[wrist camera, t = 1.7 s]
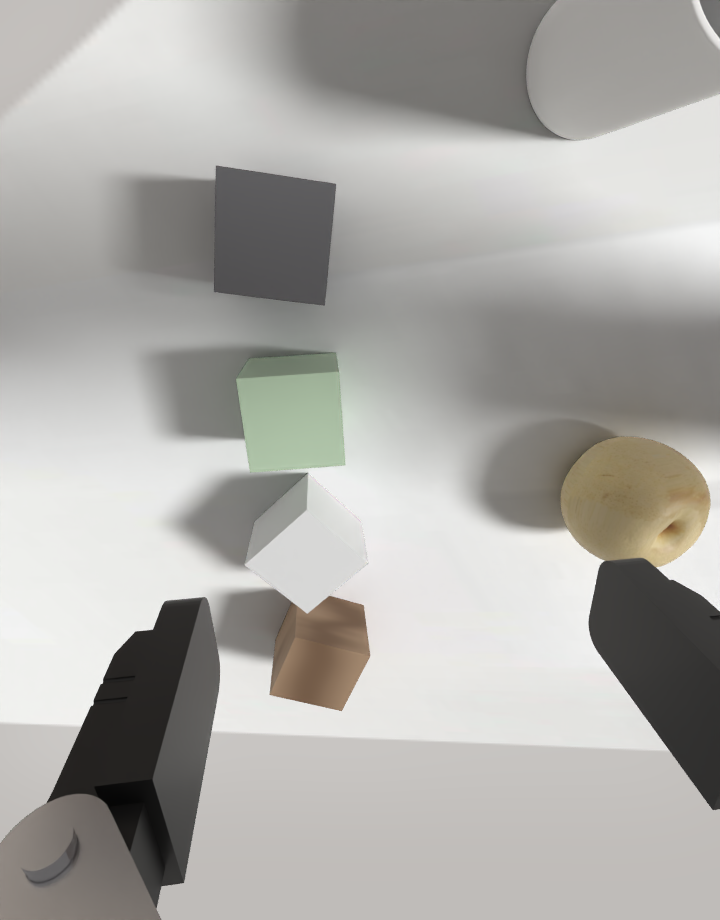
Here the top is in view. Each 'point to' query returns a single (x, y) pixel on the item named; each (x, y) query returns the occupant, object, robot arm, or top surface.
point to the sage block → (291, 412)
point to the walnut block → (320, 653)
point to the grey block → (307, 544)
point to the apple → (635, 501)
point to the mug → (621, 62)
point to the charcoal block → (272, 235)
